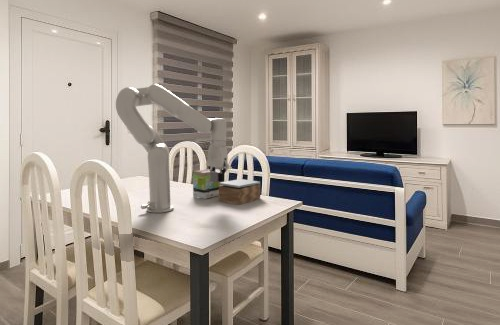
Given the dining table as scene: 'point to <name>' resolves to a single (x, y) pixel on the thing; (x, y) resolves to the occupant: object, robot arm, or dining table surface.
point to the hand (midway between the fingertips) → (217, 180)
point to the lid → (239, 183)
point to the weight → (215, 176)
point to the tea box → (204, 185)
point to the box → (239, 194)
